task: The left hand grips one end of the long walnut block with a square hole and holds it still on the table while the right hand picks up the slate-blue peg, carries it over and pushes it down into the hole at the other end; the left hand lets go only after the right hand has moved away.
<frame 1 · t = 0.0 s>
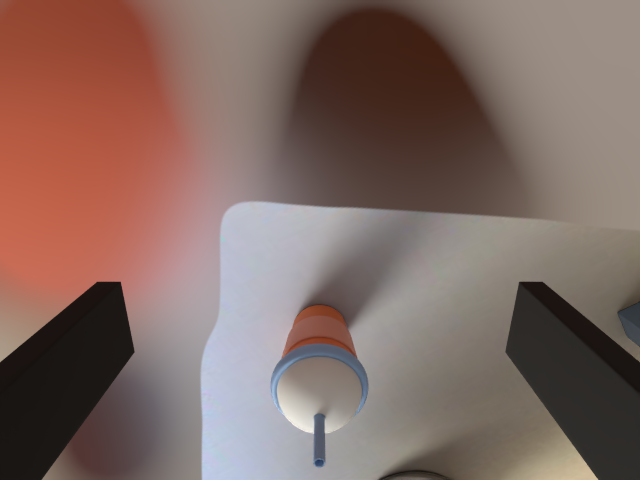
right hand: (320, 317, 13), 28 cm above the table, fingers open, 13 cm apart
peg: (639, 317, 45), on the table
cup with straw: (319, 326, 46), on the table
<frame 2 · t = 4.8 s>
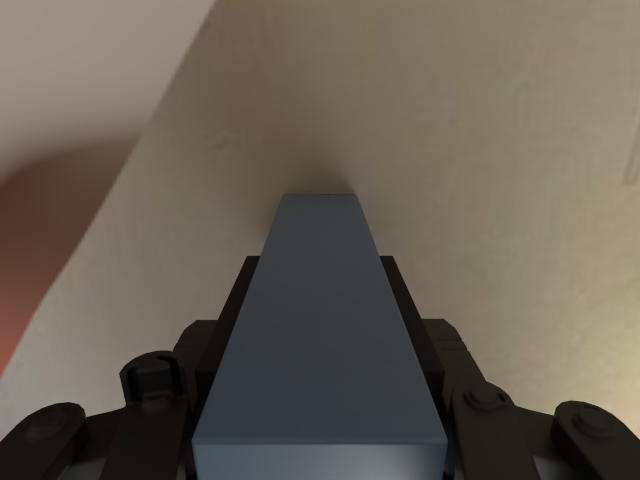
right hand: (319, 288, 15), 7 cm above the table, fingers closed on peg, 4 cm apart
peg: (319, 229, 22), on the table, touching right hand
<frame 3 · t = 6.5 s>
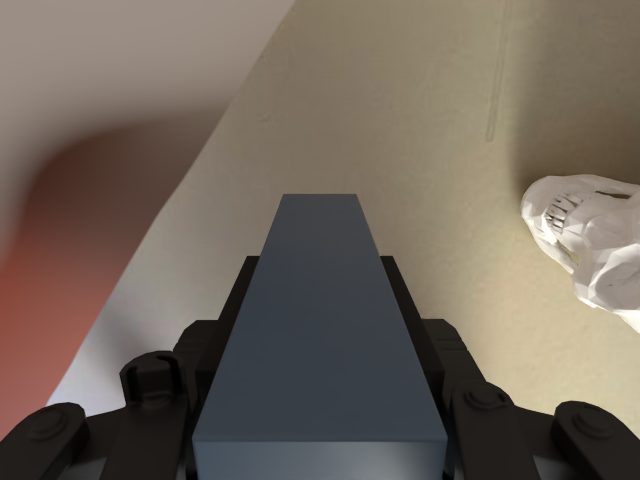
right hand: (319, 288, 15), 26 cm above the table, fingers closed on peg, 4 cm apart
skull: (600, 230, 41), on the table
peg: (319, 228, 22), point 18 cm above the table, touching right hand
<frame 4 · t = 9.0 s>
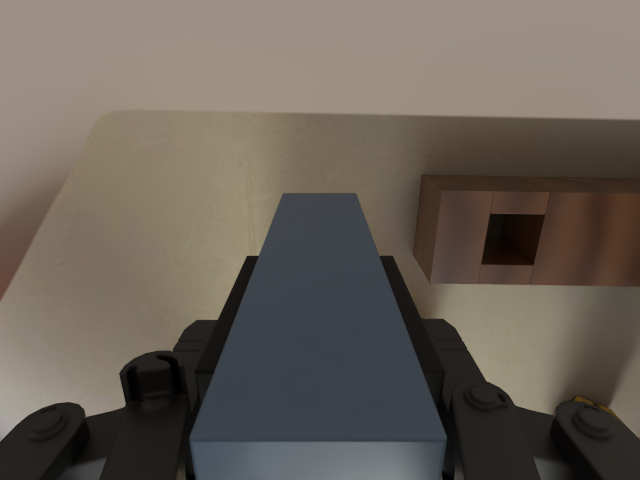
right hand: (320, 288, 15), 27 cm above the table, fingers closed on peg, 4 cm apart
peg: (319, 228, 22), point 19 cm above the table, touching right hand
walnut block: (556, 218, 42), on the table, touching left hand
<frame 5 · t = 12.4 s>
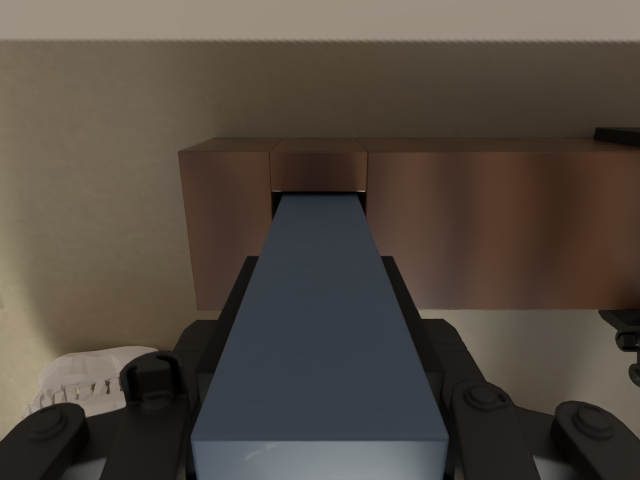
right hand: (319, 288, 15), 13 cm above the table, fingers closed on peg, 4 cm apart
skull: (185, 402, 33), on the table
peg: (319, 227, 22), point 6 cm above the table, touching right hand
walnut block: (431, 203, 27), on the table, touching left hand
when the right hand's fingers open (9 cm above the table, at t = 13.4 s): peg drops 2 cm, resting in walnut block.
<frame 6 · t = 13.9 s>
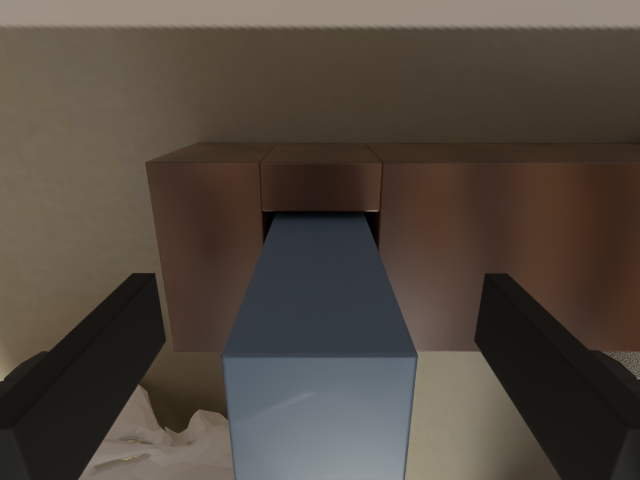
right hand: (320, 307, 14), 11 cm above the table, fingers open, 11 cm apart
skull: (169, 439, 30), on the table
peg: (319, 217, 23), resting in walnut block
walnut block: (452, 218, 23), on the table, touching left hand
when the left hand's fingers open (1 cm above the table, at t = 18.6 s): walnut block stays where it is, on the table.
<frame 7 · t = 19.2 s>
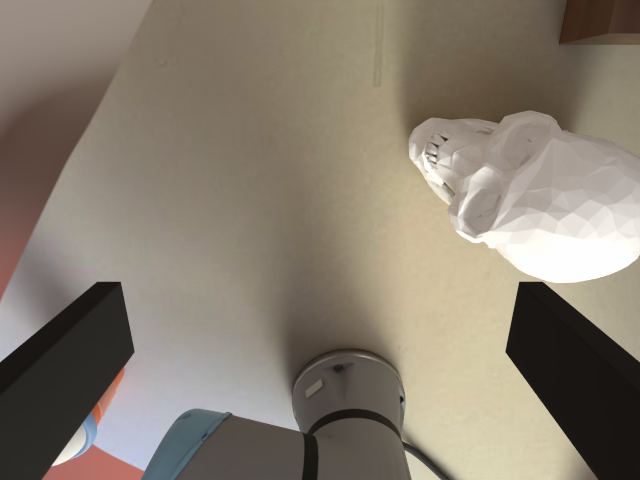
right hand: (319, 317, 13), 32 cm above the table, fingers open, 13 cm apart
skull: (492, 175, 43), on the table
cup with straw: (102, 365, 52), on the table
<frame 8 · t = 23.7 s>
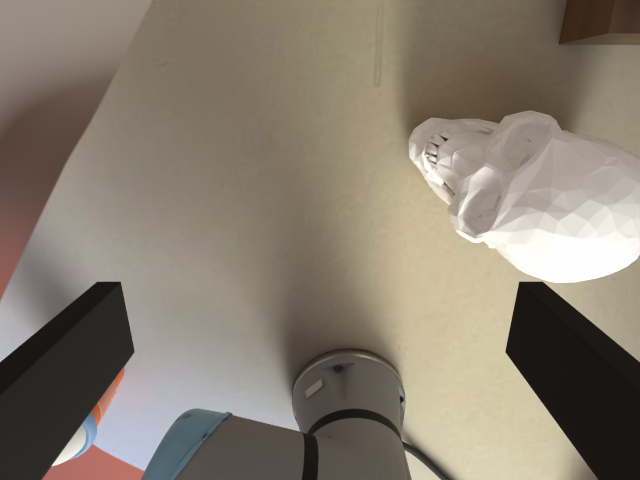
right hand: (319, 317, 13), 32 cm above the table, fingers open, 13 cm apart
skull: (492, 175, 43), on the table
cup with straw: (102, 365, 52), on the table
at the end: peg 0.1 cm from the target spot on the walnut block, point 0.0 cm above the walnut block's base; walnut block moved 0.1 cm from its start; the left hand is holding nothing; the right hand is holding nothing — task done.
